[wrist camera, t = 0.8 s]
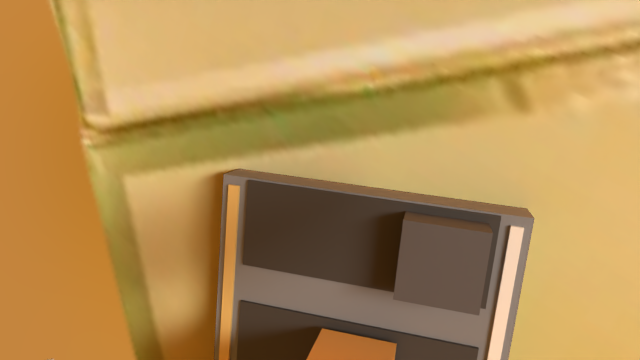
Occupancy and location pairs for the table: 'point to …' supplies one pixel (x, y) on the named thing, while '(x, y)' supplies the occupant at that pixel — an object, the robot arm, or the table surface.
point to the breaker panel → (365, 269)
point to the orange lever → (350, 347)
